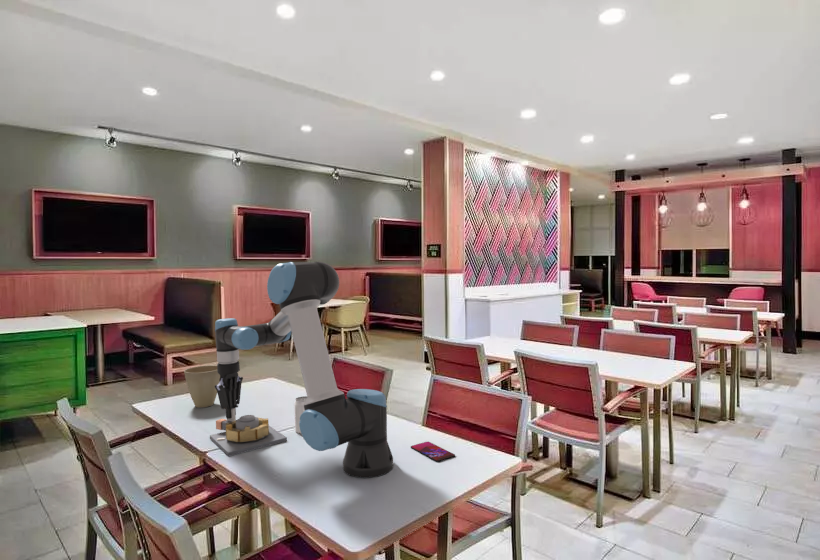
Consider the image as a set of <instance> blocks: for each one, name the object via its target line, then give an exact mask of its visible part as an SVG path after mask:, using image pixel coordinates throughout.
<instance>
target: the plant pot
mask: <svg viewBox="0 0 820 560" xmlns="http://www.w3.org/2000/svg"><path fill="white" fill-rule="evenodd" d="M183 373H184V378H185V382H186V386H187V389H188V392H189V395H190V398H191V400H192V402H193V404H194V407H196V408H208V407H211V406H213V405H214V403H215V401H216V398H217V396H218V393H217V390H216V389H215V385H218V384H219V382H220V381H219V379H220V374H218V372H217V364H215V365H214V364H213V365H212V364H211V365H200V366H199V365H198V366H192V367H190V368H186V369H184V371H183Z"/></svg>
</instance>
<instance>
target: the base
mask: <svg viewBox="0 0 820 560" xmlns="http://www.w3.org/2000/svg"><path fill="white" fill-rule="evenodd" d="M259 418H260V417H259V416H255V415H254V414H245V415H242V416H239V418H238V419H237V418H236V429H239V430H244V429H245V426H250V429H252V428H256V427H258V426H259ZM209 439H210V440H211V441H212V442H213V443H214V445H216V446H217V448H219V449H220V450H221V451H222V452H224V454H225V455H226V456H227V457H230V456H235V455H238V454H242V453H246V452H249V451H254V450H257V449H261V448H264V447H269V446H273V445H276V444H281V443H284V442H287V441H288V437H287V436H285V434H284V435H283V434H282V433H281V432H279V431H278V430H276V429H275V428H273V427H272V426H270V425H269V434H268V435H266V436H264V437H262V438H260V439H258V440H257V439H256V440H253V441H246V442H240V441H239V442H234V441H230V440H227V439H226V431H223V432H218V433H214V434H211V435H209Z"/></svg>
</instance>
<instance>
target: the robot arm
mask: <svg viewBox="0 0 820 560" xmlns="http://www.w3.org/2000/svg"><path fill="white" fill-rule="evenodd" d="M266 284H267V285H266V286H267V287H266V289H267V290H266V292H267V295H268V298H269V300H270V301H271V302H272V303H274V304H275V305H279V308H280V311H279V312H278V313H277V314H276V315H275V316H274V317H273V318H272V319H271V320H270V321H269V322H266V323H258V324H253V325H252V324H251V325H244V326H243V325H242V326H240V325H238V320H237V318H234V317H232V318H230V317H229V318H228V317H227V318H220V319H217V320H215V324H214V333H215V335H214V336H215V348H216V362H217V364H216V366H217V372H218V374H220V379H219V381H220V382H219V384H218V385H215V389H216V390H217V396H218V397H217V398H218V401H219V406H220V409H221V410H225V419H226V420H227V421H232V422H233V421H235V420H237V417H236V415H237V413H236V412H237V411H236V410H237V408H239V404H240V402H241V394H242V393H241V391H242V383H243V379H244V376H239V372H240V370H241V368H240V361H239V360H240V351H239V350H242V351H244V350H252V349H254V347H258V346H259V347H260V346H264V345H265V346H266V345H273V344H280V343H283V342H287V341H289V340H290V338H291V336H292V339H293V342H294V347H295V351H296V356H297V359H298V364H299V367H300V368H299V369H300V372H301V376H302V377H301V378H302V380H303V384H304V389H305V392H306V396H307V399H306V401H305V403H304V409H305V411H304V412H303V413H302V414H301V416H300V421H299V426H300V431H301V434H300V435H301V436H302V438H303V440H304V441H305V442H306V444H307V445H308V446H309V447H310V448H312V449H313V450H314V451H318V452H324V451H328V450H331V449H332V450H333V449H335V448H337V447H339V446H341V445H344V444H346V443H347V445H346V450H345V453H344V456H343V459H342V469H343V472H344V473H345V474H346V475H348V476H351V477H355V478H364V479H365V478H368V479H369V478H376V477H380V476H383V475H386V474H388V473H389V472H391V471H392V470H393V468H394V456H393V453H392V451H391V449H390V445H389V442H388V426H387V425H388V421H387V419H388V418H387V417H388V416H387V415H388V414H387V413H388V412H387V411H388V410H387V408H388V405H387V398H386V395H385V394H384V393H383V392H382V391H379V390H376V389H369V388H357V389H355V388H353V389H350V390H348V391H347V393H346V395H345V393H344V391H342V390H341V389H339V388H338V386H337V382H336V379H335V375H334V370H333V366H332V362H331V358H330V354H329V351H328V350H329V349H328V348H327V343H326V339H325V335H324V331H323V328H322V323H321V319H320V315H319V312H318V308H319V306H323V305H326V304H328V303H329V302H330V301H331V300H332V299H333V298H334V297H335V296H336V294H337V293H338V290H339V288H340V277H339V274H338V272H337V270H336V269H335V268H334V267H333V266H332V265H330V264H329V263H326V262H323V261H305V262H304V261H302V262H301V261H299V262H298V261H296V262H293V261H288V262H283V263H282V262H281V263H278V264H276V265H275V266H274V267H273V268H272V269H271V271H270V272H269V276H268V277H267V283H266Z"/></svg>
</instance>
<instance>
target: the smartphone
mask: <svg viewBox="0 0 820 560" xmlns="http://www.w3.org/2000/svg"><path fill="white" fill-rule="evenodd" d="M410 449H412V450H413V451H416V452H417V453H419V454H421V455H422V456H424V457H426V458H427V459H429V460H431V461H433V462H434V463H441V462H444V461H447V460H451V459H453V458H456V454H455V453H452V452H450V451H448V450H446V449H445V448H443V447H441V446H439V445H436V444H435V443H433V442H430V441H423V442H421V443H417V444H414V445H411V446H410Z"/></svg>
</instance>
